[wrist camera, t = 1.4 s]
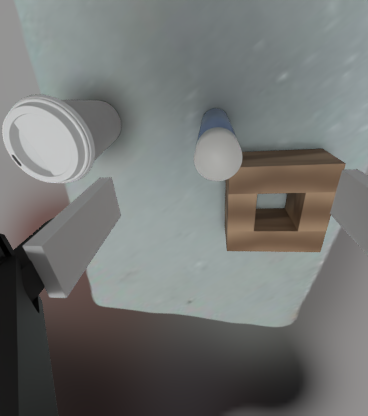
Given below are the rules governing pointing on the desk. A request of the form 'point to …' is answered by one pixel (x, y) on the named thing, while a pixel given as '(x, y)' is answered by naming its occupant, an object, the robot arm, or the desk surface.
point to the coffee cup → (59, 136)
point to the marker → (217, 147)
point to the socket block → (295, 203)
